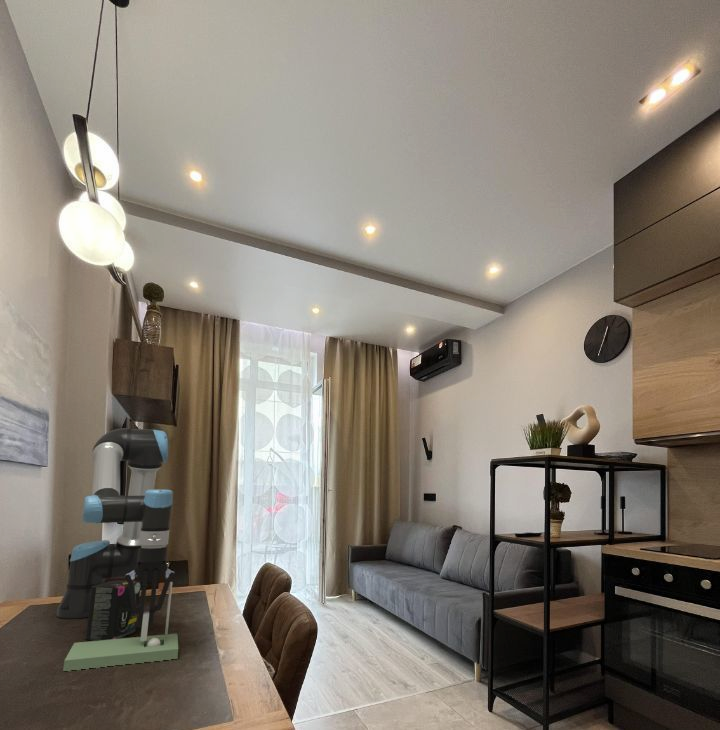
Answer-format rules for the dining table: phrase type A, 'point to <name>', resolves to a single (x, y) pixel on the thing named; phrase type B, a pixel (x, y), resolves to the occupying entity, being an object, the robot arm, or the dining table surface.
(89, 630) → the tampon box
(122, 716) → the dining table surface
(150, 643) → the ball
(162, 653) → the mini golf green
